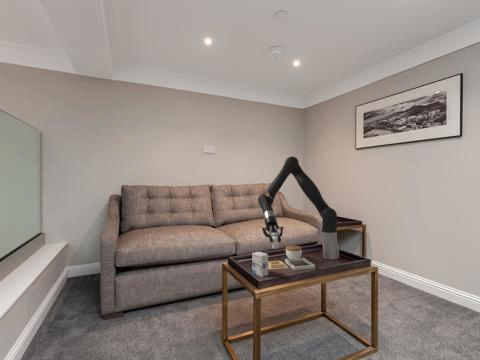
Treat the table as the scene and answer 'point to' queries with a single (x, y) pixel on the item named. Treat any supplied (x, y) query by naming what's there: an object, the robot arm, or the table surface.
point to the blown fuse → (275, 240)
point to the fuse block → (276, 265)
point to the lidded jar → (293, 251)
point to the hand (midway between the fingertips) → (275, 241)
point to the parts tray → (309, 266)
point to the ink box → (260, 263)
